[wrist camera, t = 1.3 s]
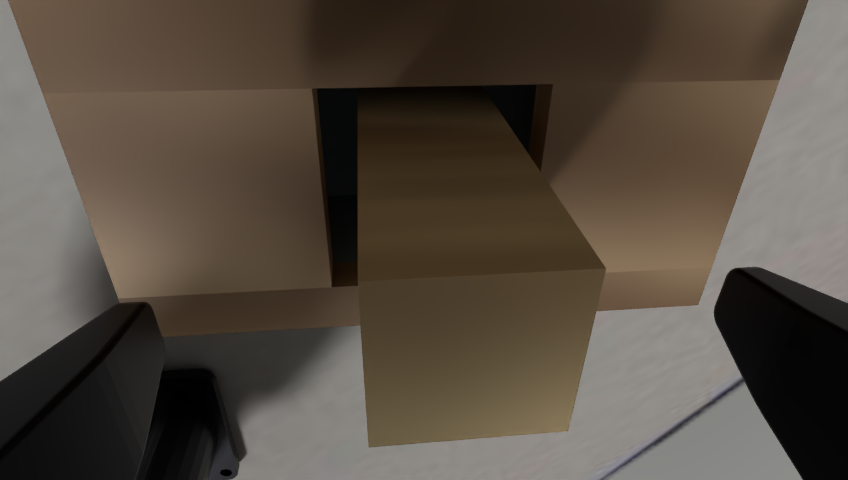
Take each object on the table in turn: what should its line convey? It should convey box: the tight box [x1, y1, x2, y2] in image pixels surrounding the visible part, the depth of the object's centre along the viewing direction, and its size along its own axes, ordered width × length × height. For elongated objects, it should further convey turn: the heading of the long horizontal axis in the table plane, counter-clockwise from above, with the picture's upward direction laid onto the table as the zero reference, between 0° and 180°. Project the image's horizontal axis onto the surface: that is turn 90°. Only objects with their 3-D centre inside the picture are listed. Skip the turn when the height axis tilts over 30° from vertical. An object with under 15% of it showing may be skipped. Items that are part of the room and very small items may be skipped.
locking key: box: [358, 85, 606, 447], centre depth 11 cm, size 3×3×10 cm
